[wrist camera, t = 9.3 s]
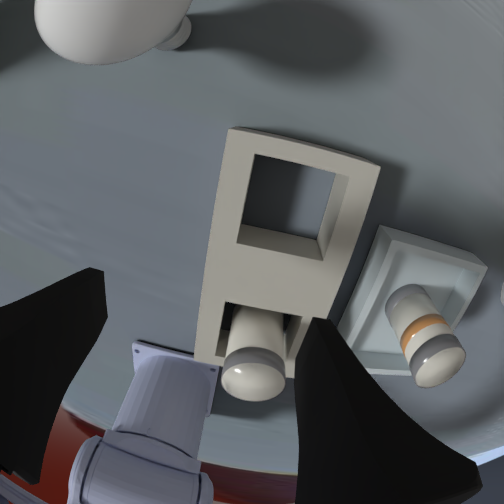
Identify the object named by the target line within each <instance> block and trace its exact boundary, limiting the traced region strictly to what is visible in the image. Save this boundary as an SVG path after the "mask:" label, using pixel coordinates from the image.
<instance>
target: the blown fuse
mask: <svg viewBox="0 0 504 504" xmlns="http://www.w3.org/2000/svg"><path fill="white" fill-rule="evenodd" d="M385 314H386V317H387V319H388V321H389V323H390V325H391V327H392V328H393V330H394V332H395V335H396V337H397V339H398V341H399V344H400V347H401V349H402V351H403V354H404V356H405V358H406V360H407V362H408V364H409V369H410V371H411V374H412V376H413V379H414V381H415V383H416V385H417V386H418V387H420V388H432V387H435V386H438V385H440V384H442V383H444V382H446V381H447V380H449V379H450V378H452V377H453V376H454V375H455V374H456V373H457V372H458V371H459V370H460V368H461V367H462V365H463V363H464V361H465V358H466V352H465V350H464V349H463V347H462V345H461V344H460V342H459V340H458V339H457V337H456V336H455V335H454V334H453V332H452V331H451V328H450V327H449V325H448V324H447V322H446V321H445V319H444V318H443V317H442V315H441V314H440V312H439V311H438V309H437V308H436V306H435V305H434V303H433V302H432V300H431V298H430V297H429V295H428V294H427V292H426V291H425V289H424V288H423V287H422V286H420V285H417V284H407V285H404V286H402V287H400V288H398V289H397V290H395V291H394V292H393V293H392V294H391V295H390V297H389V298H388V300H387V302H386V305H385Z"/></svg>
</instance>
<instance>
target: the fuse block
mask: <svg viewBox="0 0 504 504" xmlns="http://www.w3.org/2000/svg"><path fill="white" fill-rule="evenodd" d="M256 154H259V155H264V156H268V157H273V158H278V159H282V160H286V161H291V162H295V163H299V164H303V165H307V166H311V167H315V168H319V169H323V170H327V171H330V172H334V173H336V175H335V179H334V182H333V186H332V189H331V193H330V196H329V200H328V203H327V207H326V210H325V213H324V217H323V220H322V223H321V227H320V230H319V233H318V237H317V240H314V239H309V238H305V237H300V236H296V235H291V234H286V233H282V232H277V231H273V230H268V229H263V228H258V227H254V226H249V225H244V224H241V222H242V218H243V213H244V208H245V203H246V198H247V193H248V188H249V183H250V179H251V174H252V169H253V164H254V160H255V155H256ZM380 168H381V167H380V166H378V165H376V164H374V163H372V162H371V161H369V160H367V159H365V158H362V157H359V156H355V155H352V154H349V153H345V152H342V151H339V150H335V149H332V148H328V147H324V146H321V145H317V144H313V143H309V142H305V141H301V140H297V139H293V138H289V137H284V136H280V135H276V134H271V133H266V132H262V131H257V130H252V129H246V128H241V127H236V126H235V127H232V128H229V129H228V134H227V140H226V145H225V150H224V156H223V161H222V166H221V172H220V178H219V183H218V189H217V195H216V201H215V207H214V213H213V219H212V225H211V232H210V238H209V245H208V251H207V258H206V265H205V272H204V279H203V286H202V294H201V301H200V309H199V317H198V325H197V333H196V342H195V351H194V360H195V361H199V362H204V363H208V364H213V365H218V366H223V364H224V360H225V358H226V352H227V346H228V341H229V335H230V331H227V330H222V329H221V325H222V320H223V314H224V309H225V304H226V302H231V303H236V304H241V305H245V306H251V307H256V308H261V309H266V310H271V311H277V312H282V313H288V314H292V315H291V318H290V321H289V323H288V326H287V329H286V332H285V335H284V363H285V372H286V377H289V378H294V371H295V358H296V356H297V353H298V351H299V349H300V346H301V344H302V341H303V339H304V337H305V334H306V332H307V329H308V327H309V325H310V322H311V320H312V317H318V318H324V319H326V318H327V316H328V313H329V311H330V309H331V306H332V304H333V301H334V299H335V297H336V294H337V292H338V289H339V287H340V284H341V282H342V279H343V277H344V274H345V271H346V269H347V266H348V264H349V261H350V258H351V256H352V253H353V250H354V247H355V245H356V242H357V239H358V236H359V233H360V230H361V228H362V225H363V222H364V219H365V216H366V213H367V210H368V207H369V204H370V201H371V197H372V194H373V191H374V188H375V185H376V181H377V178H378V175H379V171H380Z"/></svg>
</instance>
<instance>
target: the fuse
mask: <svg viewBox="0 0 504 504" xmlns="http://www.w3.org/2000/svg"><path fill="white" fill-rule="evenodd" d="M283 322H284V317H283V313H282V312H277V311H271V310H266V309H261V308H256V307H251V306H245V305H241V304H236V303H235V304H234V309H233V314H232V324H231V329H230V335H229V341H228V346H227V352H226V358H225V360H224V364H223V370H222V375H221V384H222V387H223V388H224V390H225V391H226V392H227V393H229V394H230V395H232V396H233V397H236V398H238V399H241V400H245V401H254V402H256V401H265V400H269V399H272V398H274V397H276V396H278V395H279V394H280V393H281V392H282V391H283V390H284V388H285V386H286V372H285V363H284V335H283Z"/></svg>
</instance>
